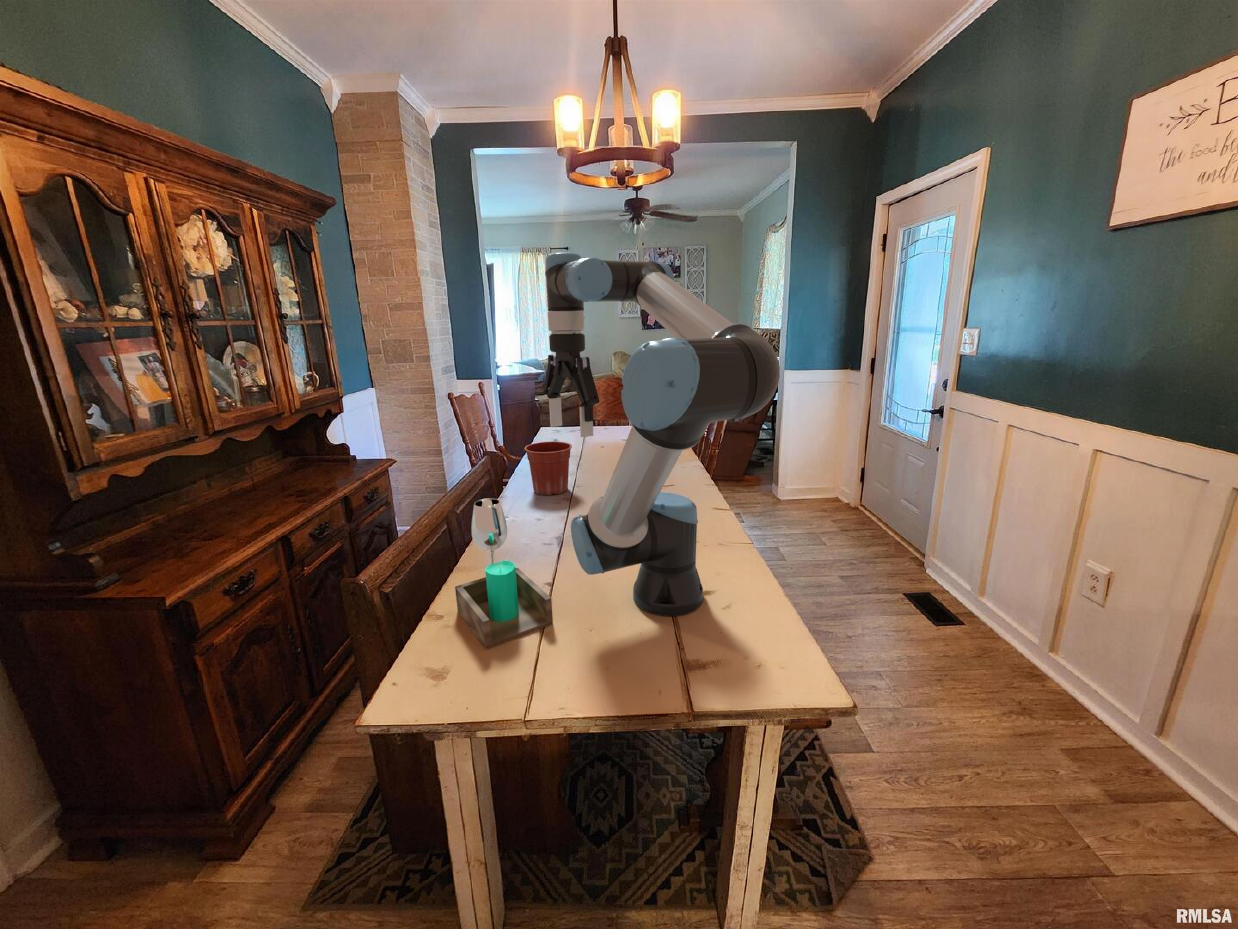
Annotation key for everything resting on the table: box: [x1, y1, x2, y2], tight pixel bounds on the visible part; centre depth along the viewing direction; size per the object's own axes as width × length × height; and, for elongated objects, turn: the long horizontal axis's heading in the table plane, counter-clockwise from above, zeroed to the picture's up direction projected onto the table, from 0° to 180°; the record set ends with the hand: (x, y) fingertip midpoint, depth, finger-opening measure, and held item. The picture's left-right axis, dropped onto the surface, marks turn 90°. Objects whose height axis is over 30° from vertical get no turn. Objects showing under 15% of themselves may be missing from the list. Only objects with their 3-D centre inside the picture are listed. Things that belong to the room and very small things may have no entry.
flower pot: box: [524, 440, 573, 496], centre depth 182 cm, size 16×16×16 cm
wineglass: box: [471, 498, 508, 564], centre depth 116 cm, size 8×8×20 cm
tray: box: [454, 567, 554, 650], centre depth 105 cm, size 16×14×6 cm
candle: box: [484, 559, 519, 622], centre depth 104 cm, size 6×6×12 cm
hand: (570, 431), depth 114 cm, fingers open, 13 cm apart
